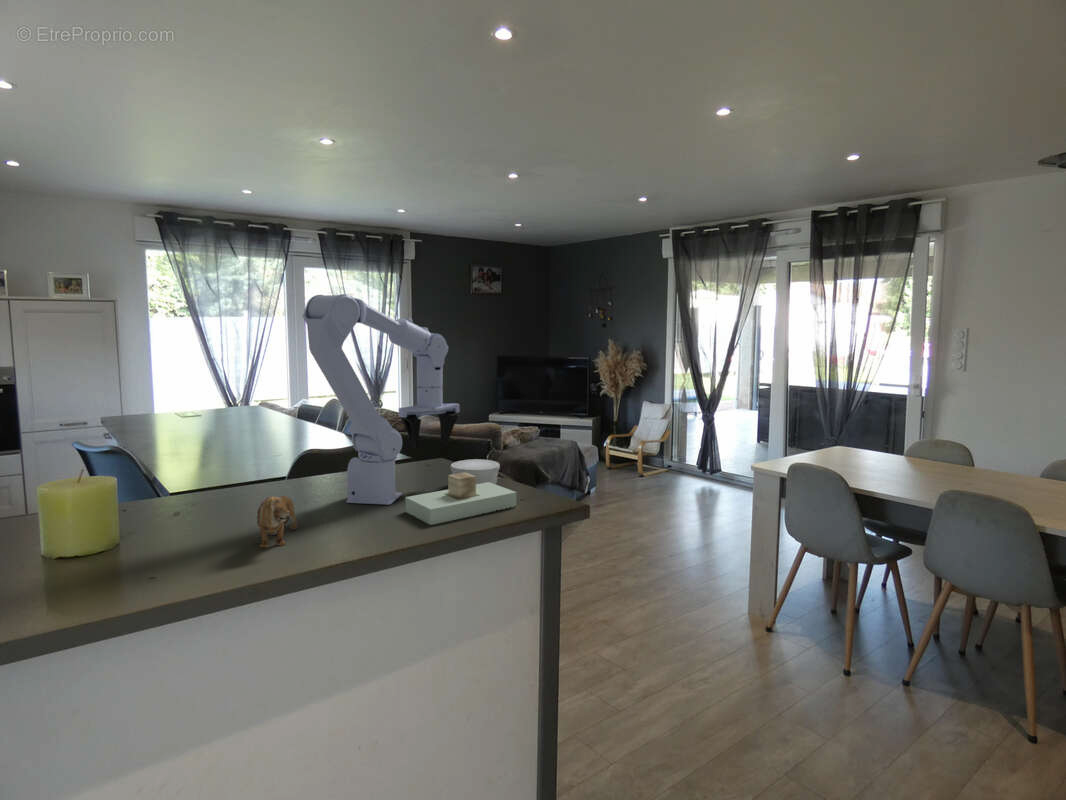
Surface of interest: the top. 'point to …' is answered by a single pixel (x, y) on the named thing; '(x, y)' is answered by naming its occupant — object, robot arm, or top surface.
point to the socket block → (459, 504)
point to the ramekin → (478, 469)
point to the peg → (461, 486)
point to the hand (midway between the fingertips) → (430, 446)
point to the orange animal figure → (275, 518)
